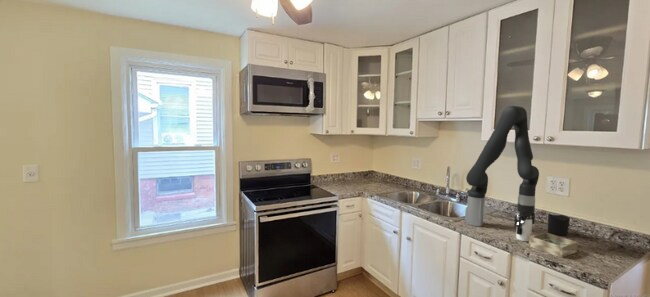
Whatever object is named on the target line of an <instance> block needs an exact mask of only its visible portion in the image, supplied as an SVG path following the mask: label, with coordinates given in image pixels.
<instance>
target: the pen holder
mask: <svg viewBox="0 0 650 297" xmlns="http://www.w3.org/2000/svg"><path fill="white" fill-rule="evenodd" d="M547 218H548V219H547V233H549V234H552V235H555V236H559V237H567V235H568V233H569V225H570V217H569V216H567V215H564V214H558V215H554V214H551V213H548V216H547Z"/></svg>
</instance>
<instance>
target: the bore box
mask: <svg viewBox="0 0 650 297" xmlns="http://www.w3.org/2000/svg"><path fill="white" fill-rule="evenodd" d="M528 247H530V248H534V249H535V250H539V251H541V252H544V253H547V254H550V255H553V256H556V257H558V258H561V259H563V258H564V256H565V257H567V255H568V256H569V255H572V254H576V253H577V251H578V242H577V241H575V240H571V239H568V238H565V237H563V236H558V235H554V234H551V233H549V232H544V231H543V232H539V233H537V234H533V235H531V236H529V242H528ZM575 252H576V253H575Z"/></svg>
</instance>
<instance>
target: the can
mask: <svg viewBox="0 0 650 297" xmlns="http://www.w3.org/2000/svg"><path fill="white" fill-rule="evenodd" d="M521 222H524V221H523V220H521ZM517 223H518V222H517ZM532 229H533V224H532V220H531V219H526V222H525V225H523V227H522V235H519V234H517V231H515V232H516V233H515V234H516V235H515V238H516V239H517V240H518V241H520V242H525V243H529V236H532V231H533V230H532Z"/></svg>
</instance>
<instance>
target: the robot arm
mask: <svg viewBox="0 0 650 297" xmlns="http://www.w3.org/2000/svg"><path fill="white" fill-rule="evenodd" d="M527 113H528V112H527V110H526V108H524V107H523V106H520V105H519V106H517V105H511V106H510V105H509V106H507V107H505V109H504V110H503V111H502V112H501V115H500V117H499V120H498V122H497V124H496V126H495V128H494V130H493V132H492V133H491V135H490V137H489V139H488V140H487V142H486V143H485V144H484V147H483V149H482V151H481V153H480V154H479V156H478V158H477V159H476V161H475V163H474V164H473V165H472V167H471V169H470V170H469V171H468V172H467V174H466V177H465V178H466V179H465V180H466V183H467V184H468V185H469V186H471V187H470V189H469V190H468V192H467V203H466V204H467V205H466V207H465V211H464V212H465V213H464V223H466V224H467V225H469V226H472V227H483V226H484V220H485V219H484V218H485V217H484V216H485V203H486V202H485V201H486V200H485V199H486V194H487V191H488V186H489V185H488V184H489V177H488V174H487V172H486V171H487V170H488V168H490V166H492V165H493V163H495V162H496V161H497V160H498V159H499V158H500V156H501V154H502V153H503V152H504V151H505V148H506V145H507V142H508V136H509V133H510V131H511V130H512V128H513V129H514V134H515V135H514V136H515V137H514V150H515V155H516V159H517V162H516V166H517V169H516V170H517V175H518V176H519V177H520V178H521V179H522V182H521V183H520V184H519V188H518V190H519V191H518V196H517V205H516V207H517V208H516V210H517V212H519V213H518V214H515V216H514V223H513V224H514V227H516V232H517V234H519V235H522V227H523V225H525V222H526V219H531V220H532V225H535V221H536V213H535V211H536V210H535V208H536V188H537V185H538V182H539V177H540V172H539V169H538V167H536V166H535V165H533V164H532V160H533V159H534V155H533V151H532V148H531V147H532V146H531V142H530V136H529V126H528V114H527ZM521 220H523V221H524V222H521ZM517 222H518V223H517Z"/></svg>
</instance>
